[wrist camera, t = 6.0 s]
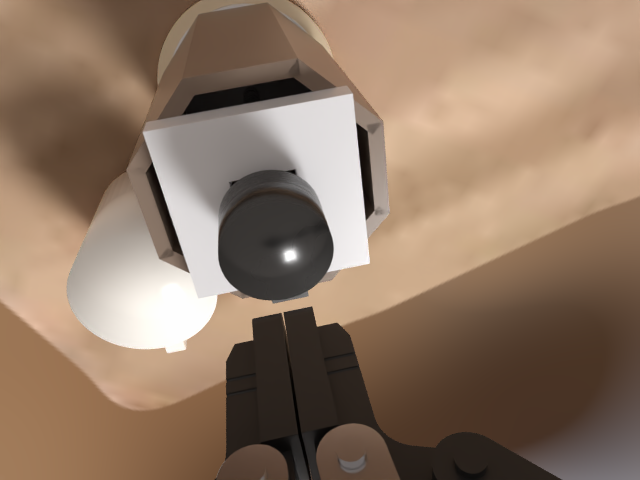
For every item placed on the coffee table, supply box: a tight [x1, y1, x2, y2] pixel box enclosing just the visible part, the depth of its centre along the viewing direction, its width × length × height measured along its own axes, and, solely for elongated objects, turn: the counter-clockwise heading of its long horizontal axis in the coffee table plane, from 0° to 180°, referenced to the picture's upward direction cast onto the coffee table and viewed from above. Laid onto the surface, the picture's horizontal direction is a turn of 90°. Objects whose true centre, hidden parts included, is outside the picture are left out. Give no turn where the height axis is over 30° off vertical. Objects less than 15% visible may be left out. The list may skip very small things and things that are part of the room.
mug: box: [67, 171, 217, 353], centre depth 33 cm, size 8×10×9 cm
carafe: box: [126, 0, 390, 303], centre depth 26 cm, size 11×13×16 cm
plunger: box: [218, 87, 334, 300], centre depth 23 cm, size 4×4×17 cm
